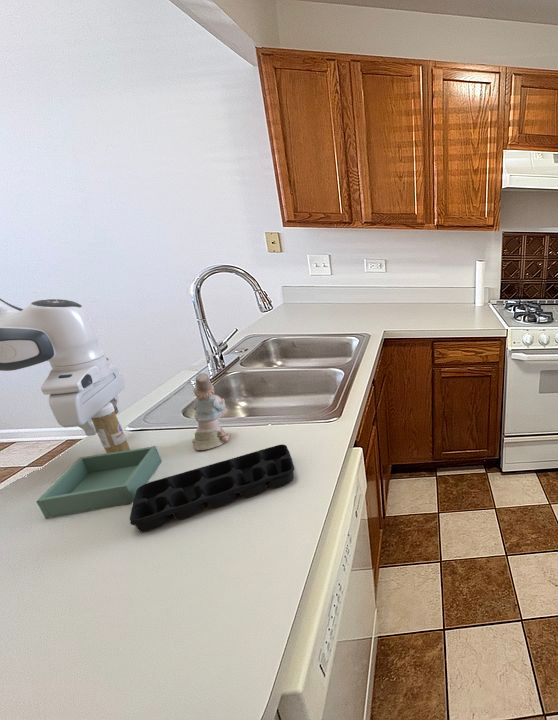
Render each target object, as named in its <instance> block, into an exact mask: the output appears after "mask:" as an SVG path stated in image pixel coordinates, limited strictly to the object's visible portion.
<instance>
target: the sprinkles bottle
mask: <svg viewBox="0 0 558 720" xmlns="http://www.w3.org/2000/svg"><path fill="white" fill-rule="evenodd" d="M114 410H115V409H114V407H113V404H112V403H109V402H108V403H107V404H106V405H105V406H104V407H103V408H102V409H100V410H99V411H98V412H97V413H96V414H95V415H94V416H92V417H91V419H92V422H91V423H92V424H93V425H97V427H98V429H99V431H98V432H97V433H96V435H97V436H98V439H99V441H100V444H101V445H102V447H103V448H104V451H105V454H106V453H113V452H119V451H126V450H132V449H131V447H130V445H129V443H128V441H127V437H126V435H125V433H124V430H123V428H122V426H121V423H120V421H119V419H118V417H117V414H115V411H114Z"/></svg>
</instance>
